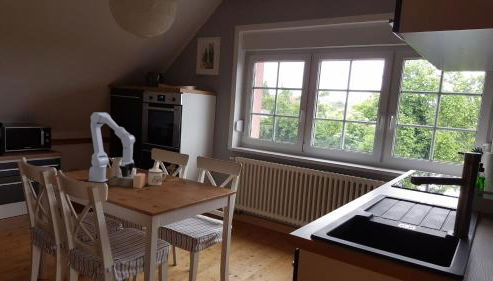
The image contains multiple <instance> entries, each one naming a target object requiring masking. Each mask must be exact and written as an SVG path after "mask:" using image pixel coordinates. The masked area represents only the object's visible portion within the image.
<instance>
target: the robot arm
mask: <svg viewBox="0 0 493 281" xmlns="http://www.w3.org/2000/svg"><path fill="white" fill-rule="evenodd" d="M104 124H107V125H108V127H110V128H111V129H112V130H113V131H114V135H116V136H117V137H118V138H119V139H120V141H121V144H122V148H123V149H122V161H121V162H120V165H119V166H118V167H119V169H120V172H121V175H122V177H126V175H127V170H130V175H129V176H132V174H133V173H132V172H133V170H134V167H135V165H136V163H135V162H134V159H133V153H134V144H135V142H136V137H135V136H134V135H133V134H131V133H130V132H128V131H127V130H126V129H125V128H124V126H123V127H122V126H119V125H118V124H117V123H116V122H115V121H114V120H113V119H112V117H111V115H110V114H109V113H108V112H97V111H94V112H92V114H91V115H90V132H91V138H92V143H93V144H92V145H93V151H94V152H93V154H92V155H91V165H92V166H90V168H89V170H88V171H89V174H88V182H97V183H98V182H99V183H103V182H106V181H109V178H107V177H106V176H107V166H108V165H109V163H110V160H109V157H108V154H107V153H106V152H105V150H104V146H103V145H104V143H103V138H102V132H101V127H102V126H103V125H104Z"/></svg>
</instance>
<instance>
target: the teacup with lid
mask: <svg viewBox="0 0 493 281" xmlns="http://www.w3.org/2000/svg"><path fill="white" fill-rule="evenodd" d="M166 175H167V174H166V173H165V172H163V170H162V169H160V168H158V166H154V167H152V168H149V169H148V175H147V176H148V177H147V178H148V179H147V184H148V185H149V186H153V187H155V186H162V181H163V180H164V181H165V179H166Z"/></svg>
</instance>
